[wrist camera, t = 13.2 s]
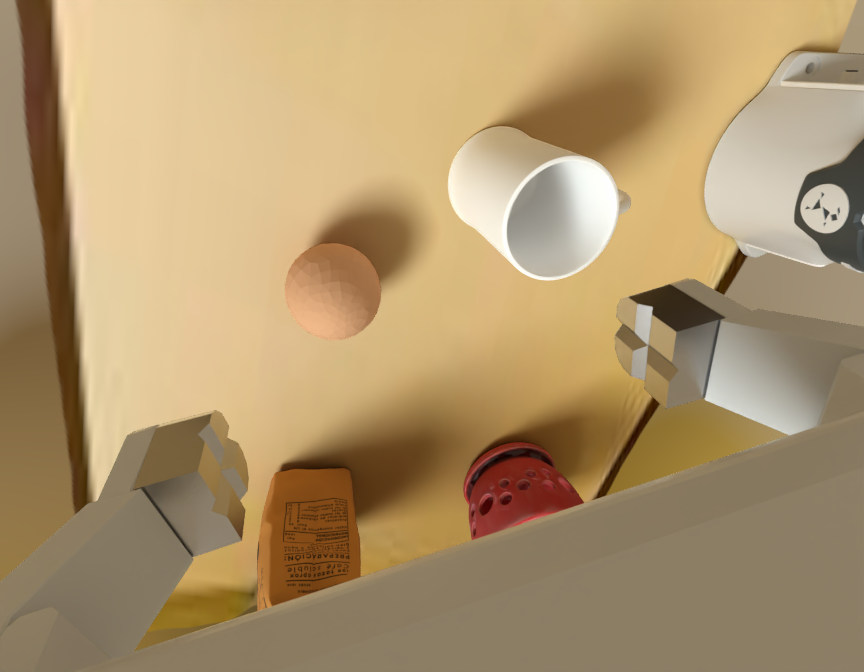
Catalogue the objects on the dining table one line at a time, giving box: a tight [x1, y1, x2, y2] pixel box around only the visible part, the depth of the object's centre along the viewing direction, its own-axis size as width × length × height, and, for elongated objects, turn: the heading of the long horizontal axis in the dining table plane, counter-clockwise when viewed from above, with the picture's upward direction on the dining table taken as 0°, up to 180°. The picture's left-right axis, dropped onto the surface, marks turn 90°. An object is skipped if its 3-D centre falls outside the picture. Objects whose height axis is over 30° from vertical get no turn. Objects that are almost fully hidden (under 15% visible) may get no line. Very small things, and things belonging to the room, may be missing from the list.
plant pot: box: [464, 442, 584, 540], centre depth 54 cm, size 13×13×12 cm
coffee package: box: [257, 468, 361, 611], centre depth 44 cm, size 10×12×22 cm
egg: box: [285, 243, 381, 340], centre depth 37 cm, size 7×7×8 cm
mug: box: [448, 126, 631, 280], centre depth 35 cm, size 12×8×12 cm
